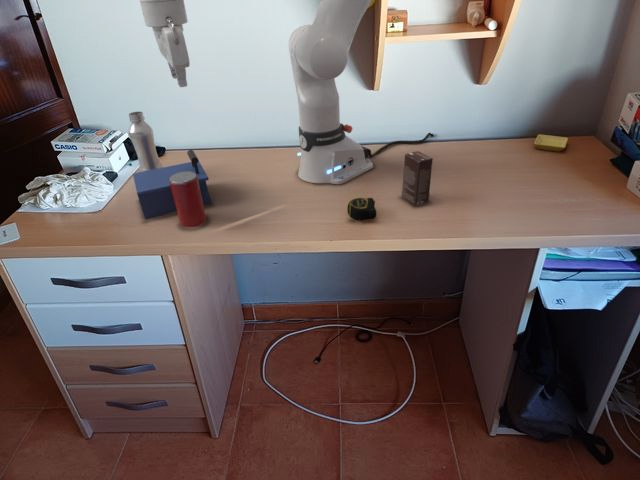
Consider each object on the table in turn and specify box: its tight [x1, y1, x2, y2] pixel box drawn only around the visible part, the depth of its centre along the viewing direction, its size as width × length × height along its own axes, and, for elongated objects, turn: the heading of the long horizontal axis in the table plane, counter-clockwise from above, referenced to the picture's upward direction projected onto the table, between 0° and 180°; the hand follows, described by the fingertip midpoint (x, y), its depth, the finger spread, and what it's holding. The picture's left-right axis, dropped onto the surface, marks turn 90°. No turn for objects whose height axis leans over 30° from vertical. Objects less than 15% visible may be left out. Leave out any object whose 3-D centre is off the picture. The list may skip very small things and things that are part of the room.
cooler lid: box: [132, 149, 210, 196], centre depth 114 cm, size 17×13×5 cm
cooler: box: [137, 180, 211, 220], centre depth 118 cm, size 17×13×7 cm
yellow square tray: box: [533, 133, 569, 152], centre depth 138 cm, size 9×9×2 cm
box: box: [401, 150, 434, 207], centre depth 111 cm, size 6×4×12 cm
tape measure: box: [346, 197, 377, 222], centre depth 108 cm, size 7×7×4 cm
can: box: [169, 171, 207, 228], centre depth 107 cm, size 6×6×12 cm
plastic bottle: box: [128, 111, 164, 172], centre depth 128 cm, size 6×7×20 cm
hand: (179, 81), depth 103 cm, fingers open, 8 cm apart
